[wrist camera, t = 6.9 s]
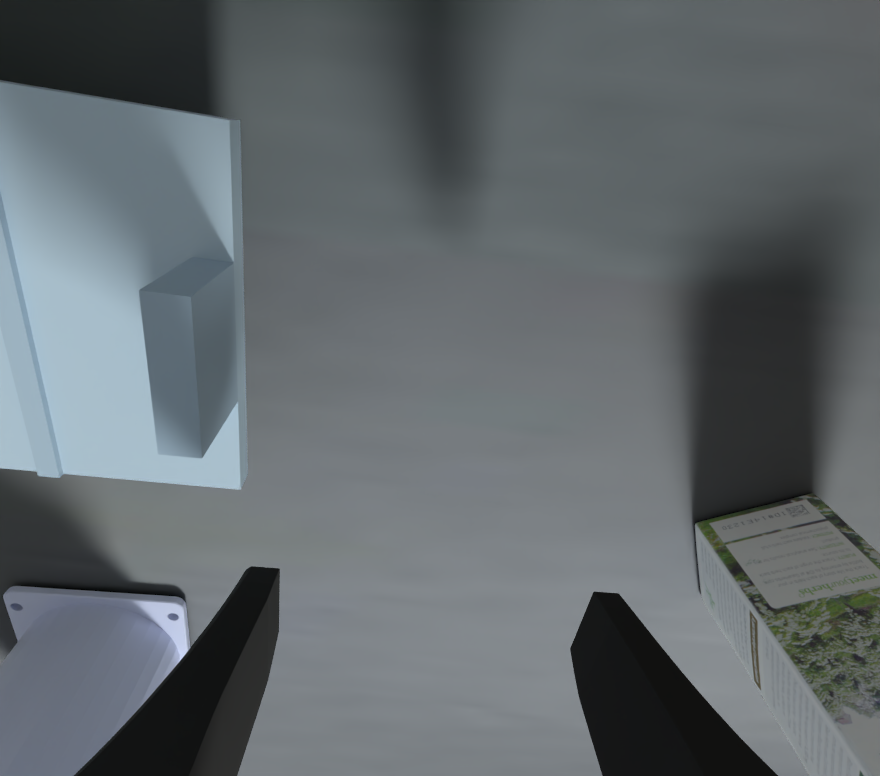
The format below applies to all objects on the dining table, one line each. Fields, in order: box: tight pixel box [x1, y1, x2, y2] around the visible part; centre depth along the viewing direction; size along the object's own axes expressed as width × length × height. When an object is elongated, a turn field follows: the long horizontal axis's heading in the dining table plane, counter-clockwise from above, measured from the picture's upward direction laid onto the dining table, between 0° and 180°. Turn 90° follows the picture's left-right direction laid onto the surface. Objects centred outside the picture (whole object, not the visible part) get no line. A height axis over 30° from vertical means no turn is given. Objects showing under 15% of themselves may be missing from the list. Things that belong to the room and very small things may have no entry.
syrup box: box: [695, 494, 880, 776], centre depth 19 cm, size 6×6×14 cm
